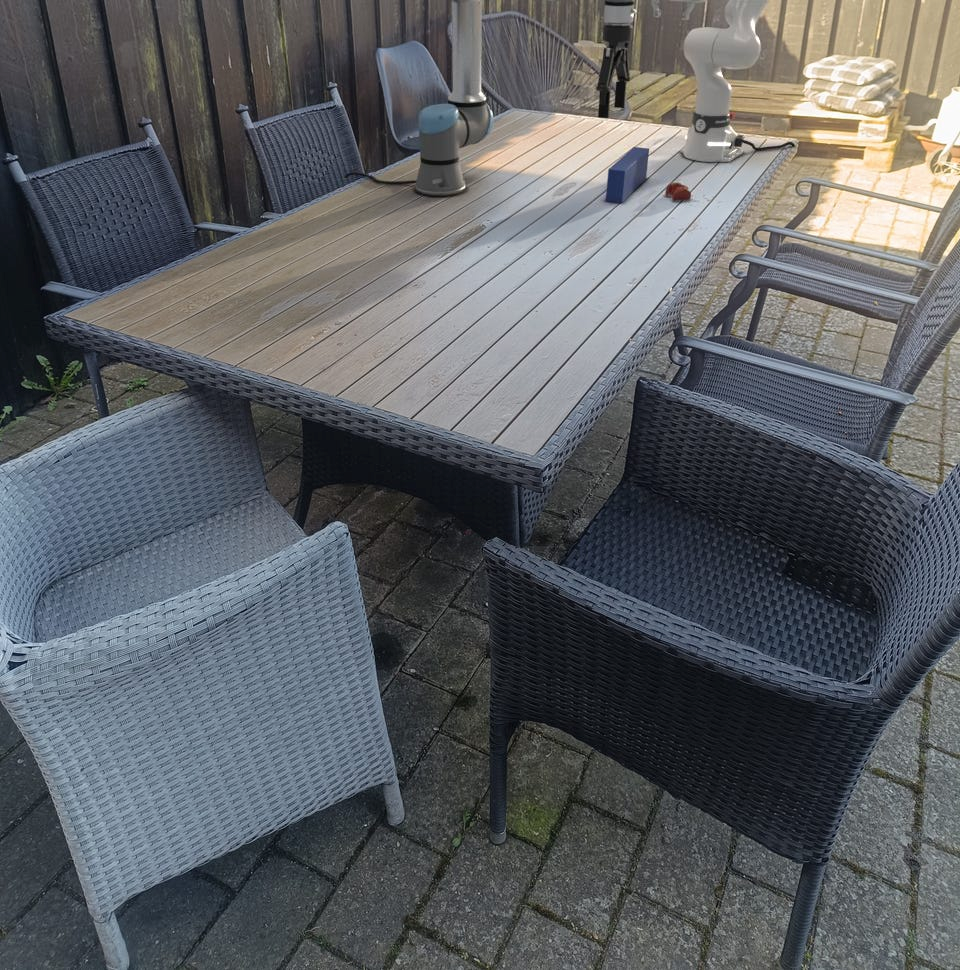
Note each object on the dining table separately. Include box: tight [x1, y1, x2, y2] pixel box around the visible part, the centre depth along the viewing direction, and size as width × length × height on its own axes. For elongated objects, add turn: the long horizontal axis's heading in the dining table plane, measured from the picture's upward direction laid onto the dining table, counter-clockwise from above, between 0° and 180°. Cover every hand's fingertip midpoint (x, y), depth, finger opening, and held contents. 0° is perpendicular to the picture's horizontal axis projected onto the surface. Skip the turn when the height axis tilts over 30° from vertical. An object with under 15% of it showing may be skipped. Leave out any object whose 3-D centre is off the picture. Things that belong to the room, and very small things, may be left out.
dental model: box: [665, 181, 692, 202], centre depth 251 cm, size 6×4×8 cm
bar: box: [605, 146, 650, 204], centre depth 256 cm, size 28×5×9 cm, turn 156°
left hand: (611, 112), depth 228 cm, fingers open, 13 cm apart
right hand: (671, 18), depth 246 cm, fingers open, 8 cm apart
